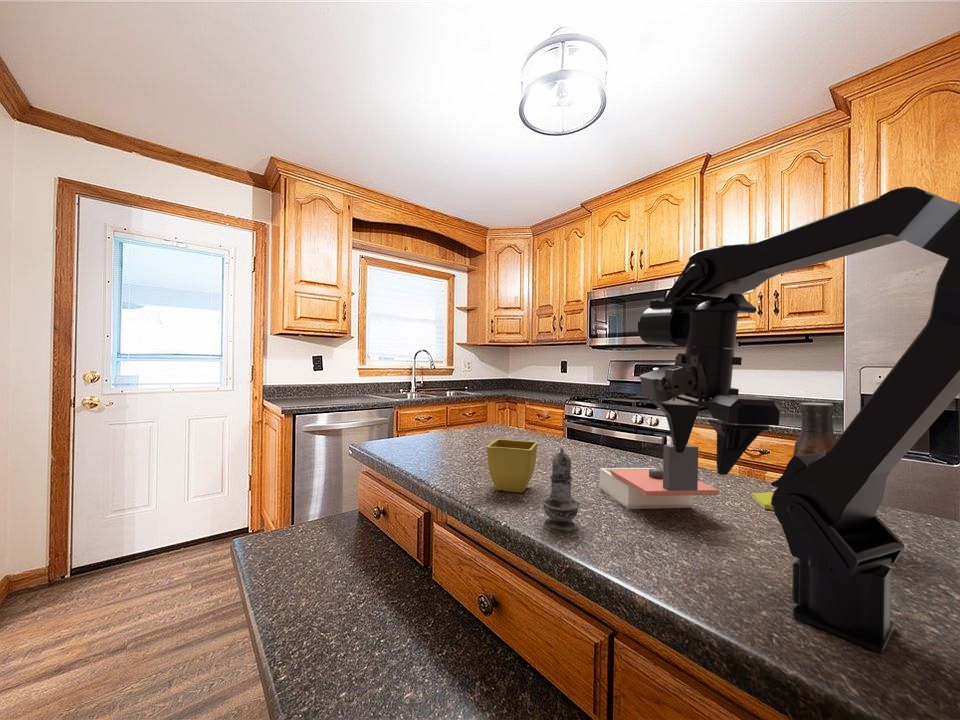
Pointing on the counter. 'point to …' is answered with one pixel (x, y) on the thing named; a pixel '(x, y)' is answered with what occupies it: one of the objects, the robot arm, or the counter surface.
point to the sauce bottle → (815, 429)
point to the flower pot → (511, 463)
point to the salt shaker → (561, 497)
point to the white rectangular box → (638, 493)
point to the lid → (669, 475)
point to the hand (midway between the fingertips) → (698, 462)
